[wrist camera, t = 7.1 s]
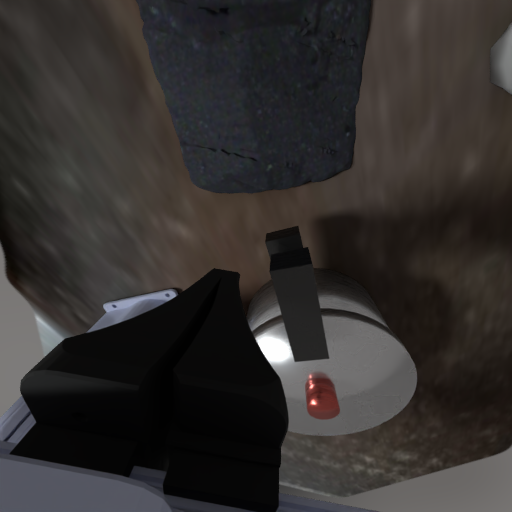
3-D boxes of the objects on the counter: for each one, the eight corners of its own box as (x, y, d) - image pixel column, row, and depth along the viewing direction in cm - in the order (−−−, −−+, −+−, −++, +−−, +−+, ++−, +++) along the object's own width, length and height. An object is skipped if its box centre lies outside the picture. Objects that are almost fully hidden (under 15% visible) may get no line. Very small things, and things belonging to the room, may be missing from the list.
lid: (407, 418, 22) (426, 460, 19) (258, 425, 24) (255, 462, 22) (414, 217, 13) (451, 238, 10) (185, 263, 16) (164, 290, 13)
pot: (380, 357, 27) (405, 411, 22) (265, 371, 30) (262, 421, 25) (364, 193, 19) (398, 214, 13) (209, 233, 22) (186, 264, 16)
